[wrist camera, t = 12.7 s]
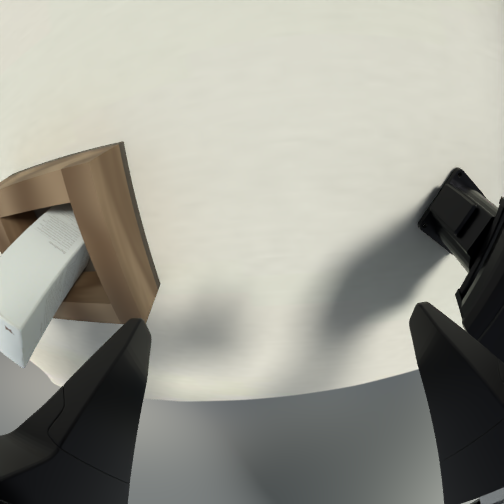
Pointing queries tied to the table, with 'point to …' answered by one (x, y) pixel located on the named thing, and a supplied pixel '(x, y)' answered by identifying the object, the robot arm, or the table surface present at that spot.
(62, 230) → the skincare box
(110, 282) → the socket block
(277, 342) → the table surface
